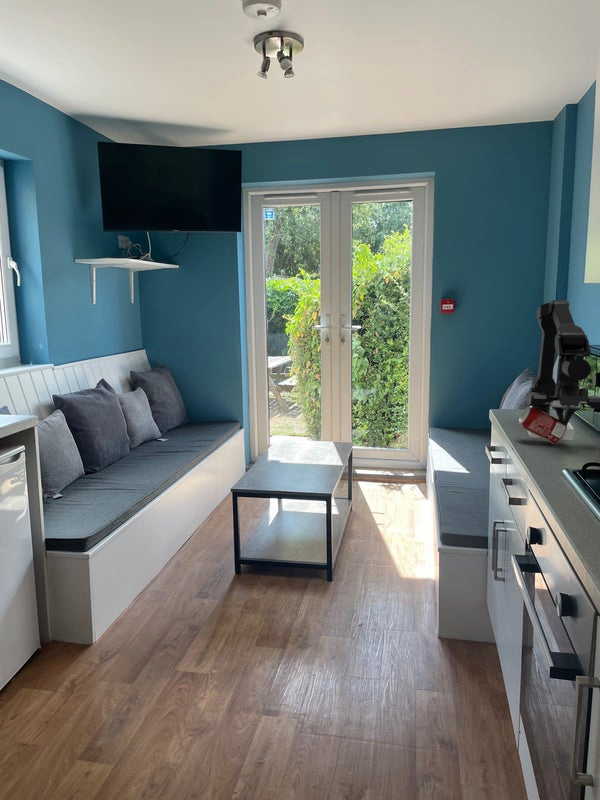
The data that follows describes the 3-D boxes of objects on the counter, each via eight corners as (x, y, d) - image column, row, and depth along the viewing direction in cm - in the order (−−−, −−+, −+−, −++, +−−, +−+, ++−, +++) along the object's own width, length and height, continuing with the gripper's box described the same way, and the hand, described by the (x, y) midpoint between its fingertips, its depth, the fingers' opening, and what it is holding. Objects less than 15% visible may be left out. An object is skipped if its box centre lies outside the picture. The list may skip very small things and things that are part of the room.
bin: (526, 431, 182) (527, 420, 182) (568, 433, 179) (568, 422, 178) (529, 438, 174) (530, 426, 173) (573, 440, 171) (574, 429, 170)
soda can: (572, 426, 161) (533, 405, 162) (559, 447, 162) (520, 426, 163) (564, 423, 168) (527, 403, 169) (552, 443, 169) (515, 423, 170)
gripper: (535, 377, 156) (530, 433, 159) (611, 381, 151) (605, 439, 154) (531, 372, 167) (526, 425, 169) (602, 376, 162) (596, 430, 164)
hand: (562, 430), depth 164 cm, fingers closed, pressing on soda can
